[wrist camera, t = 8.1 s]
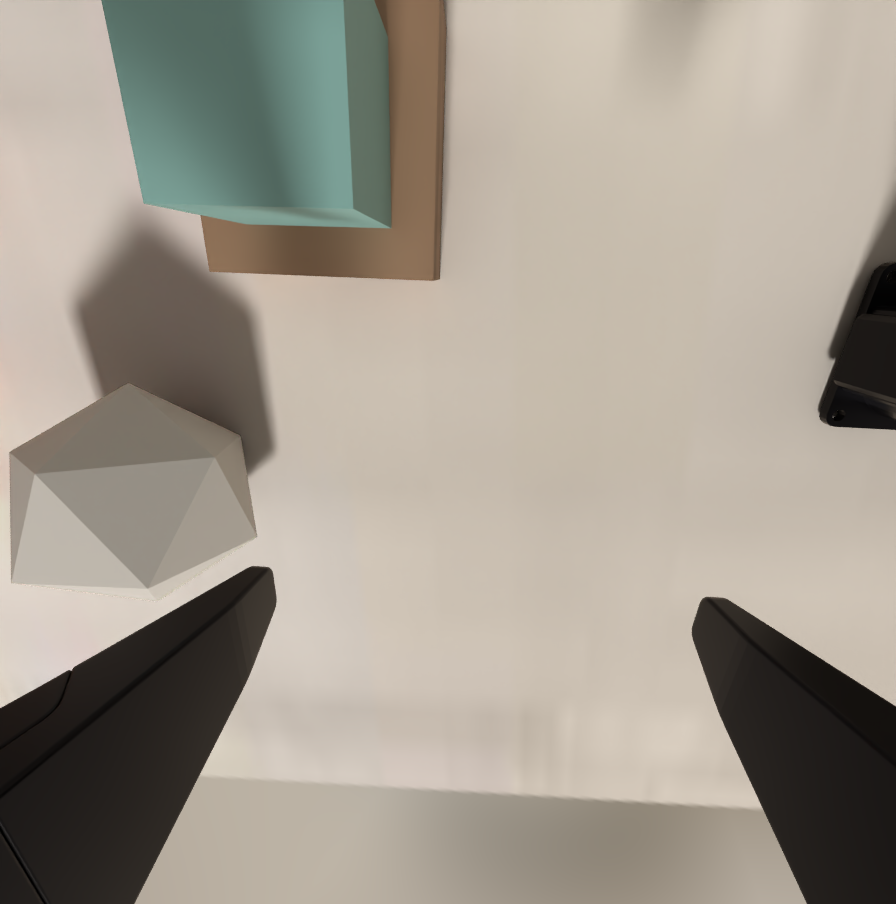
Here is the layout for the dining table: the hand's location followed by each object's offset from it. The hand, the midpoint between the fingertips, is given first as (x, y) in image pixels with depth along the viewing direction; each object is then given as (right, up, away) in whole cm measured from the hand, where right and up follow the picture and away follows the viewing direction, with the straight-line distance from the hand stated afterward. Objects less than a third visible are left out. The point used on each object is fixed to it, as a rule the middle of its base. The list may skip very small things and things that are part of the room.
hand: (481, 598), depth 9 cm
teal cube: (-5, +13, +5) cm, 15 cm away
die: (-13, +3, +13) cm, 19 cm away
